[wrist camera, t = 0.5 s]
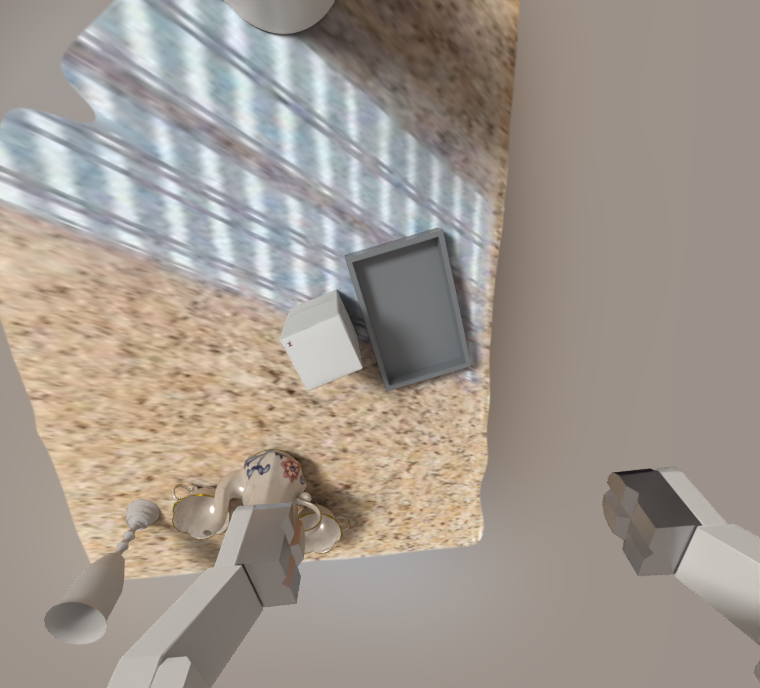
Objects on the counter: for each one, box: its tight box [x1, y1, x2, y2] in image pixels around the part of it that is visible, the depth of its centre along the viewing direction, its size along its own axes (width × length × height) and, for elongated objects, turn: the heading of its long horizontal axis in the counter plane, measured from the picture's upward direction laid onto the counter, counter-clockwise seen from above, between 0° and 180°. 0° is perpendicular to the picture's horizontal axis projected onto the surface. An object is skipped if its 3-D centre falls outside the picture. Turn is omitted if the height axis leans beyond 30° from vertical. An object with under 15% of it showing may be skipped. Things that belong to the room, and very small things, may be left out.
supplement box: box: [279, 290, 363, 391], centre depth 51 cm, size 7×7×13 cm
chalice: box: [44, 500, 160, 644], centre depth 56 cm, size 7×7×18 cm
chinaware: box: [172, 449, 350, 554], centre depth 58 cm, size 28×17×17 cm, turn 78°
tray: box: [345, 228, 471, 391], centre depth 56 cm, size 20×13×3 cm, turn 16°
